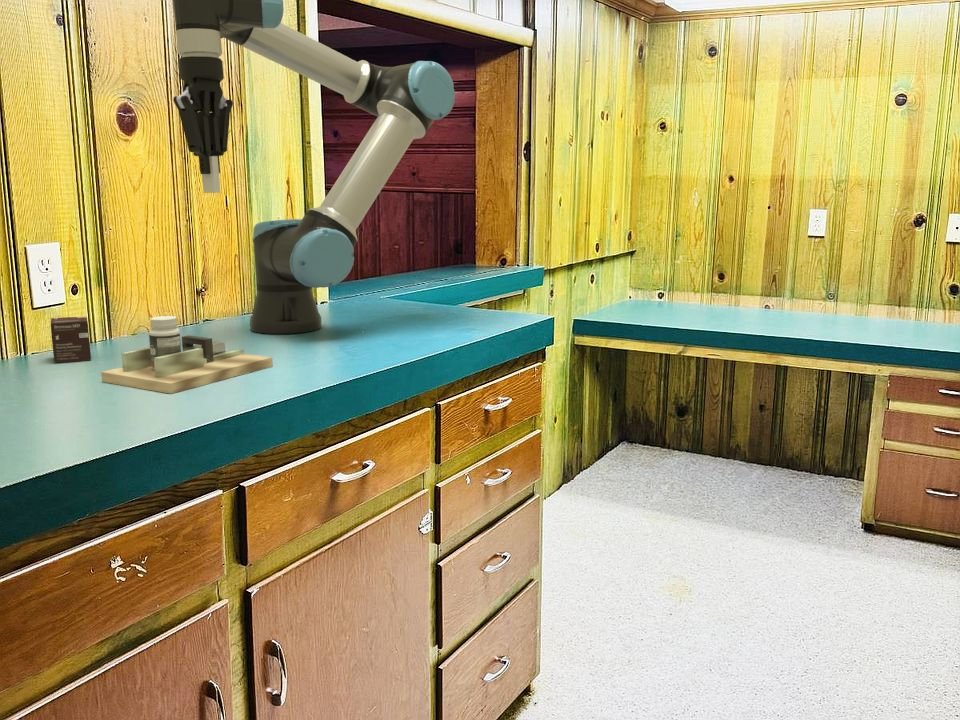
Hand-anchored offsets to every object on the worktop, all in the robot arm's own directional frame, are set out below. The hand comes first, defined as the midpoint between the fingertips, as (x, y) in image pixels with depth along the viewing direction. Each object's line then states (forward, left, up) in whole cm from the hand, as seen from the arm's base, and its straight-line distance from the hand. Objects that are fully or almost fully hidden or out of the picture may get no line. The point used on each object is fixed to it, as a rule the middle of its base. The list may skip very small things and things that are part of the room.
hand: (212, 192), depth 157 cm
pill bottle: (+22, +10, -28) cm, 37 cm away
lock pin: (+13, +10, -28) cm, 32 cm away
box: (+20, -17, -30) cm, 39 cm away
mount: (+18, +11, -29) cm, 36 cm away
